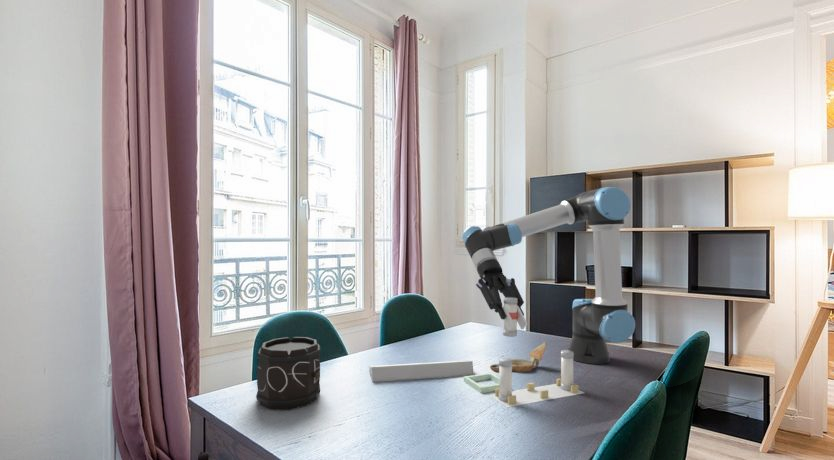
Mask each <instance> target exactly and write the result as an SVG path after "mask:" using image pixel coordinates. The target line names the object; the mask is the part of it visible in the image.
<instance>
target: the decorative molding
mask: <svg viewBox="0 0 834 460" xmlns="http://www.w3.org/2000/svg"><path fill="white" fill-rule="evenodd" d="M368 368H369V370H368V371H369V375H370V377H371V382H372V383H376V382H377V383H379V382H395V381H408V380H409V381H410V380H422V379H423V380H426V379H439V378H450V377H453V378H454V377H465V376H472V375H475V374H474V364H473V361H472V360H452V361H451V360H450V361H435V362H432V361H431V362H419V363H418V362H417V363H414V362H413V363H402V364H401V363H400V364H398V363H397V364H382V365H369V366H368Z"/></svg>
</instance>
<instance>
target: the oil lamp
mask: <svg viewBox="0 0 834 460" xmlns="http://www.w3.org/2000/svg"><path fill="white" fill-rule="evenodd" d="M546 348H547V342H546V341H545V342H543V343H541V344H540V345H538V346H537V347H535V349H533V350H531V351H530V352H529V354H528V355H529V356H530V359H521V358H515V359H514V358H513V359H512V358H511V359H512V372H519V373H520V372H523V373H526V372H531V371H532V370H533V369H534V368H538V367H539V363H540V361H542V359H543V358H544V355H545V352H546V350H547V349H546ZM489 369H490V370H491V371H492V372H494V373H499V363H496V364H491V365H490V366H489Z"/></svg>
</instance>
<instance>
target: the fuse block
mask: <svg viewBox="0 0 834 460" xmlns="http://www.w3.org/2000/svg"><path fill="white" fill-rule="evenodd" d="M555 382H556V383H552V384H546V385H540V386H535V382H529V383H526V388H521V389H516V390H512V396H508V402H503V401H500V400H499V388H496V389H495V391H494V393H492V394H489V396H490V397H491V398H492V399H494V400H496V401H497V402H499V403H500V404H502V405H503V406H505V407H506V408H511V407H516V406H522V405H527V404H534V403H537V402H538V403H539V402H543V401H549V400H550V401H551V400H555V399H560V398H566V397H572V396H577V395H582V394H585V392H584V391H582V390H579V385H578V384H574V385H572V386H571V391H565V390H562V389H561V377H560V378H556V381H555Z"/></svg>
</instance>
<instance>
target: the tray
mask: <svg viewBox="0 0 834 460" xmlns="http://www.w3.org/2000/svg"><path fill="white" fill-rule="evenodd" d="M487 380H491V381H493V382H494V383H493V384H487V385H481V384H479V383H477V382H480V381H487ZM463 382H464V384H466V385H468V386H469V387H470V388H472V389H473V390H475V391H477V392H478V393H480V394H484V393H491V392H495V389H496V388H499V375H495V374H494V373H492V372H487V373H480V374H474V375H470V376H463Z"/></svg>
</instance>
